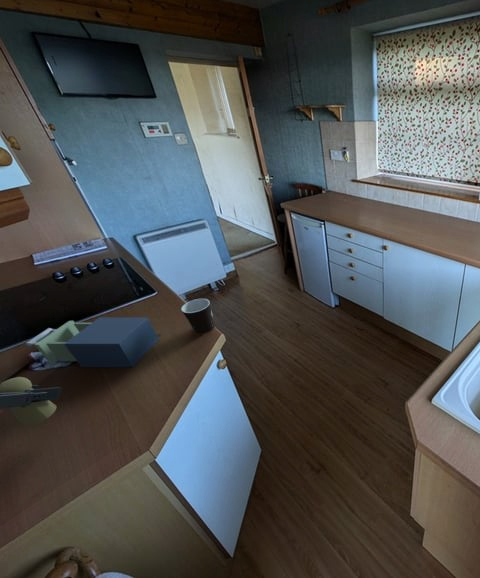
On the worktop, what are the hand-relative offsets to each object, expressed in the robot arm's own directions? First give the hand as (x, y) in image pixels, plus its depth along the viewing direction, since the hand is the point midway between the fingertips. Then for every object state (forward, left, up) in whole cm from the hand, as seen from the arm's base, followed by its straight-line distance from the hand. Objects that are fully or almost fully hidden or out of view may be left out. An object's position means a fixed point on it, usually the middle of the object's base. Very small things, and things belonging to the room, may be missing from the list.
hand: (46, 392), depth 70 cm
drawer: (-16, +23, -9) cm, 30 cm away
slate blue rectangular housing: (-3, +23, -10) cm, 25 cm away
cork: (0, -4, -4) cm, 5 cm away
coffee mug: (+17, +37, -10) cm, 42 cm away
